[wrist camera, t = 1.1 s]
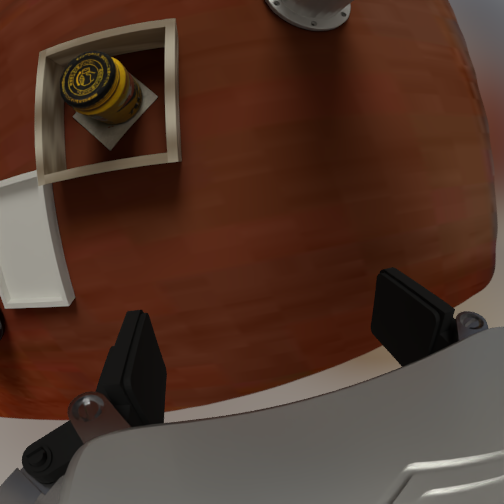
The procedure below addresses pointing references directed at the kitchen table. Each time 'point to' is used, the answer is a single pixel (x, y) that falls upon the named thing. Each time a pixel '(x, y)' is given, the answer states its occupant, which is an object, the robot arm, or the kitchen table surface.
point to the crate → (52, 103)
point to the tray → (31, 246)
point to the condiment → (104, 95)
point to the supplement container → (1, 326)
